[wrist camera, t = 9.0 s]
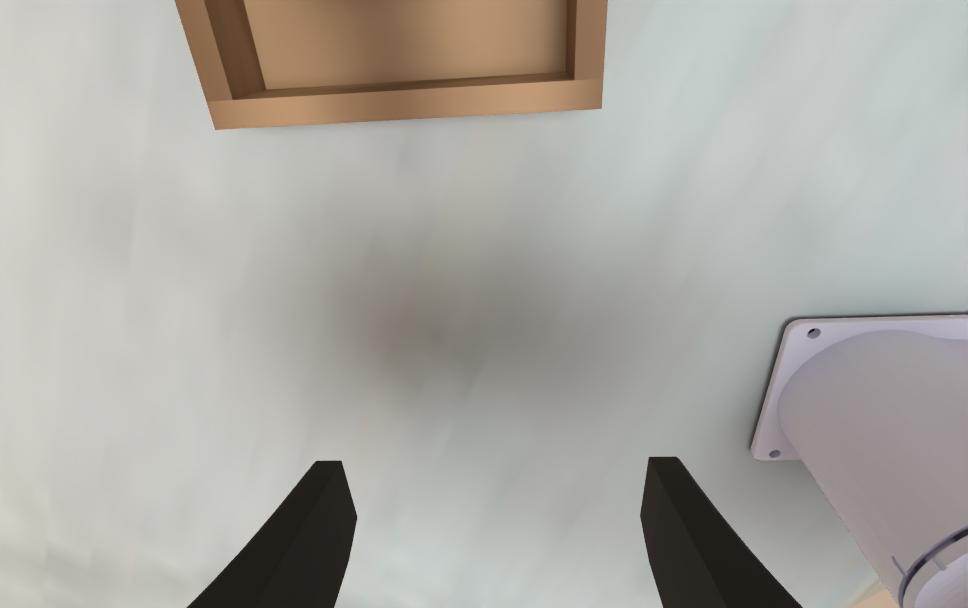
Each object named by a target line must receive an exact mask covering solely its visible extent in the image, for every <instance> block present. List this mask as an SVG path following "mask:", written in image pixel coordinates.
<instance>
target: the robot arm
mask: <svg viewBox="0 0 968 608" xmlns="http://www.w3.org/2000/svg"><path fill="white" fill-rule="evenodd" d="M814 328H815V330H814V331H813V332H811V333H808V332H809V331H810V330H811V329H814ZM807 333H808V334H807ZM773 450H774V451H773ZM751 453H752V455H753V457H754V458H755V459H757V460H761V461H773V460H802V461H803V463H804V464H805V466H806V467H807V469H808V470H809V472H810V473H811V475H812V476H813V478H814V479H815V481H816V482H817V484H818V485H819V487H820V488H821V490H822V491H823V493H824V494H825V496H826V497H827V499H828V500H829V502H830V504H831V505H832V507H833V508H834V510H835V511H836V513H837V514H838V516H839V517H840V519H841V520H842V522H843V523H844V525H845V526H846V528H847V529H848V531H849V532H850V534H851V535H852V537H853V538H854V540H855V541H856V543H857V544H858V546H859V547H860V549H861V550H862V552H863V553H864V555H865V556H866V558H867V559H868V561H869V562H870V564H871V565H872V567H873V568H874V570H875V571H876V573H877V574H878V576H879V577H880V579H881V580H882V582H883V583H884V585H885V586H886V588H887V589H888V591H889V592H890V594H891V595H892V597H893V598H894V600H895V601H896V603H897V604H898V606H899V607H900V608H968V315H935V316H899V317H863V318H828V319H799V320H795V321H793V322H791V323H790V324H789V325H787V327H786V329H785V332H784V335H783V339H782V342H781V345H780V349H779V352H778V356H777V359H776V363H775V366H774V370H773V373H772V377H771V380H770V384H769V387H768V390H767V394H766V397H765V401H764V404H763V408H762V411H761V415H760V418H759V422H758V425H757V429H756V432H755V435H754V439H753V442H752V446H751ZM640 517H641V522H642V527H643V533H644V538H645V543H646V548H647V553H648V558H649V562H650V566H651V569H652V572H653V575H654V579H655V582H656V585H657V588H658V592H659V595H660V598H661V601H662V605H663V608H803V607H802V606H801V605H800V604H799V603H798V602H797V601H796V600H795V599H794V598H793V597H792V596H791V595H790V594H789V593H788V592H787V591H786V589H785V588H784V587H783V586H782V585H781V584H780V583H779V582H778V581H777V580H776V579H775V577H774V576H773V575H772V574H771V573H770V572H769V571H768V570H767V569H766V568H765V566H764V565H763V564H762V563H761V562H760V561H759V560H758V559H757V557H756V556H755V555H754V554H753V553H752V552H751V550H750V549H749V548H748V547H747V546H746V545H745V543H744V542H743V541H742V540H741V538H740V537H739V536H738V535H737V534H736V532H735V531H734V530H733V529H732V528H731V526H730V525H729V524H728V523H727V522H726V520H725V519H724V518H723V517H722V515H721V514H720V513H719V512H718V510H717V509H716V508H715V506H714V505H713V504H712V503H711V501H710V500H709V499H708V497H707V496H706V495H705V493H704V492H703V491H702V489H701V488H700V487H699V485H698V484H697V483H696V481H695V480H694V479H693V477H692V476H691V475H690V473H689V472H688V470H687V469H686V468H685V466H684V465H683V463H682V462H681V461H680V460H679V459H678V458H677V457H649V461H648V467H647V474H646V481H645V487H644V494H643V501H642V507H641V514H640ZM356 521H357V514H356V511H355V507H354V504H353V500H352V497H351V493H350V489H349V486H348V482H347V479H346V475H345V472H344V468H343V465H342V461H316V462H315V463H314V464H313V465H312V466H311V467H310V469H309V470H308V471H307V472H306V474H305V475H304V476H303V477H302V479H301V480H300V481H299V482H298V484H297V485H296V486H295V487H294V489H293V490H292V491H291V492H290V494H289V495H288V496H287V497H286V499H285V500H284V501H283V502H282V503H281V505H280V506H279V507H278V508H277V509H276V511H275V512H274V513H273V514H272V516H271V517H270V518H269V519H268V520H267V521H266V523H265V524H264V525H263V526H262V527H261V528H260V530H259V531H258V532H257V533H256V534H255V535H254V537H253V538H252V539H251V540H250V541H249V542H248V544H247V545H246V546H245V547H244V548H243V549H242V550H241V551H240V552H239V554H238V555H237V556H236V557H235V558H234V559H233V560H232V561H231V562H230V563H229V564H228V565H227V567H226V568H225V569H224V570H223V571H222V572H221V573H220V574H219V575H218V576H217V577H216V578H215V580H214V581H213V582H212V583H211V584H210V585H209V586H208V587H207V588H206V589H205V590H204V591H203V592H202V593H201V594H200V595H199V596H198V597H197V598H196V599H195V600H194V601H193V602H192V603H191V604H190V605H189V606H188V607H187V608H334V606H335V603H336V600H337V597H338V593H339V590H340V587H341V584H342V581H343V578H344V574H345V571H346V568H347V565H348V561H349V557H350V552H351V547H352V542H353V537H354V532H355V526H356Z"/></svg>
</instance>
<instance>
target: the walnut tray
mask: <svg viewBox="0 0 968 608" xmlns="http://www.w3.org/2000/svg"><path fill="white" fill-rule="evenodd" d="M607 2H608V0H175V3H176V6H177V9H178V12H179V15H180V19H181V22H182V25H183V28H184V31H185V34H186V38H187V41H188V44H189V47H190V50H191V54H192V57H193V60H194V63H195V66H196V70H197V73H198V76H199V79H200V82H201V86H202V89H203V92H204V95H205V98H206V102H207V105H208V108H209V111H210V114H211V117H212V121H213V124H214V127H215V130H220V129H238V128H256V127H275V126H293V125H312V124H330V123H348V122H367V121H385V120H404V119H422V118H441V117H459V116H477V115H496V114H514V113H533V112H551V111H569V110H588V109H601V108H602V90H603V73H604V55H605V37H606V19H607Z"/></svg>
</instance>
